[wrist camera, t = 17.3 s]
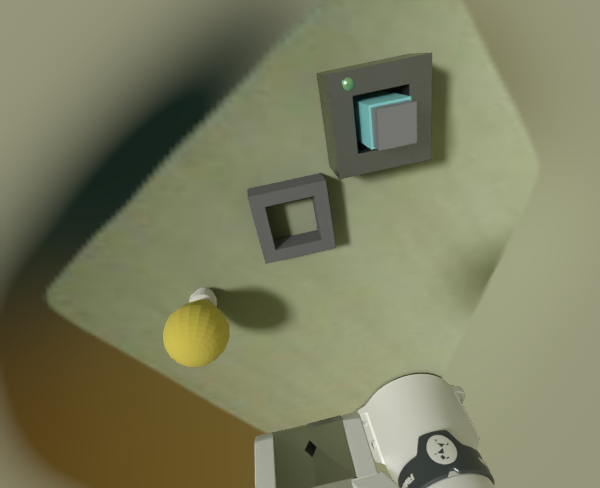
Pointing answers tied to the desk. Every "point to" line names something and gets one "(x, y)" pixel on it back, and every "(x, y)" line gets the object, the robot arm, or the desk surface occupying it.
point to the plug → (385, 120)
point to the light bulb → (196, 330)
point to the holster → (285, 193)
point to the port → (363, 79)
